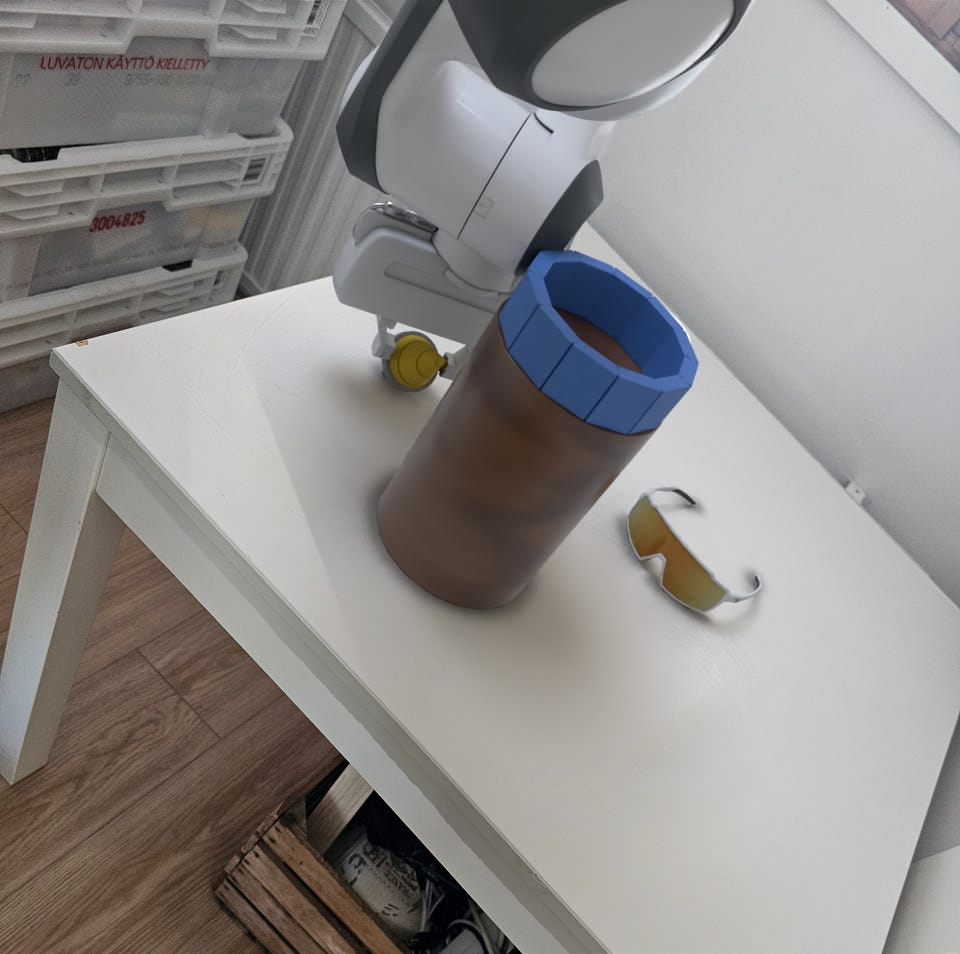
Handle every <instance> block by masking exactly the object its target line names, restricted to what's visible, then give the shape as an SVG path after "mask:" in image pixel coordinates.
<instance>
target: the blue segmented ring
mask: <svg viewBox="0 0 960 954" xmlns="http://www.w3.org/2000/svg"><path fill="white" fill-rule="evenodd" d="M552 306H554V307H557V308H560V309H562V310H565V311H568V312H571V313H573V314H576V315H579V316H581V317H584V318H585V319H587V320H588V321H589V322H591V323H592V324H594V325H595V326H596V327H598V328H599V329H601V330H602V331H603V332H605V333H606V334H608V335H609V336H610V337H612V338H613V339H615V340H616V341H617V342H618V343H619V344H620V345H621V346H622V348H623V349H624V350H625V351H626V352H627V353H628V355H629V356H630V357H631V358H632V359H633V360H634V362H635V363H636V364H637V365H638V366H639V368H640V369H641V370H642V373H643V375H642V374H639V373H636V372H633V371H630V370H627V369H625V368H622V367H619V366H617V365H615V364H614V363H612V362H611V361H610V360H608V359H607V358H605V357H604V356H602V355H601V354H600V353H598V352H597V351H595V350H594V349H593V348H591V347H590V346H588V345H587V344H586V343H584V342H583V341H581V340H580V339H579V338H578V337H577V335H576V334H575V333H574V332H573V331H572V329H571V328H570V327H569V326H568V325H567V324H566V322H565V321H564V320H563V319H562V318H561V316H560V315H559V314H558V313H557V312H556V310H555V309H554V308H553V307H552ZM668 311H669V309H667V308H666V307H665V306H664V304H662V302H661V301H660V300H659V298H657V297H656V296H654V294H653V293H652V292H650V290H648V289H646V288H645V287H644V286H642V285H641V284H639V283H638V282H637V281H635V280H634V279H632V278H631V277H630V276H628V275H627V274H626V273H624V272H623V271H621V270H620V269H619V268H618V267H616V266H615V267H614V265H612V264H609V263H607V262H604V261H602V260H600V259H597V258H594V257H592V256H589V255H587V254H586V253H582V252H580V251H577V250H573V249H569V250H564V251H553V250H543V251H540V252H539V254H538V255H537V256H536V258H535V259H534V261H533V262H532V264H531V265H530V266H529V268H528V269H527V271H526V272H525V274H524V276H523V277H522V279H521V280H520V282H519V284H518V285H517V287H516V288H515V290H514V291H513V293H512V295H511V296H510V298H509V299H508V301H507V303H506V304H505V306H504V307H503V309H502V311H501V312H500V314H499V321H500V325H501V328H502V332H503V336H504V340H505V343H506V347H507V350H509V353H510V355H511V356H512V357H513V358H514V360H515V361H516V362H517V363H518V364H519V366H520V367H521V368H522V369H523V371H524V372H525V373H526V374H527V376H528V377H529V378H530V379H531V380H532V382H533V383H534V384H535V385H536V387H537V388H538V389H541V388H542V389H541V392H543V393H544V394H546V395H547V396H549V397H550V398H551V399H553V400H554V401H556V402H557V403H559V404H560V405H562V406H563V407H564V408H566V409H567V410H569V411H570V412H572V413H573V414H574V415H576V416H577V417H579V418H580V419H582V420H584V419H585V422H587V423H591V424H594V425H597V426H600V427H603V428H607V429H610V430H613V431H616V432H619V433H623V434H627V433H628V434H633V433H638V432H642V431H646V430H650V429H655V428H657V427H658V426H659V425H660V424H661V422H662V421H663V422H664V420H665V419H666V418H667V417H668V415H670V413H671V412H672V411H673V409H674V408H675V407H676V406H677V405H678V404H679V403H680V401H681V400H682V399H683V398H684V396H685V395H686V394H687V393H688V392H689V390H690V389H691V388H692V387H693V384H694V381H695V378H696V374H697V371H698V368H699V366H700V364H699V363H700V361H699V360H698V358H697V355H696V353H695V350H694V347H693V345H692V342H691V343H690V341H691V340H690V341H689V338H688V336H687V333H688V332H687V333H686V331H687V330H686V331H684V329H683V327H682V326H681V325H680V324H679V323H678V322H677V321H676V320H675V318H674V317H673V316H672V315H671V314H670V313H669V312H670V311H669V312H668ZM663 422H662V423H663ZM661 425H662V424H661Z"/></svg>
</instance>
